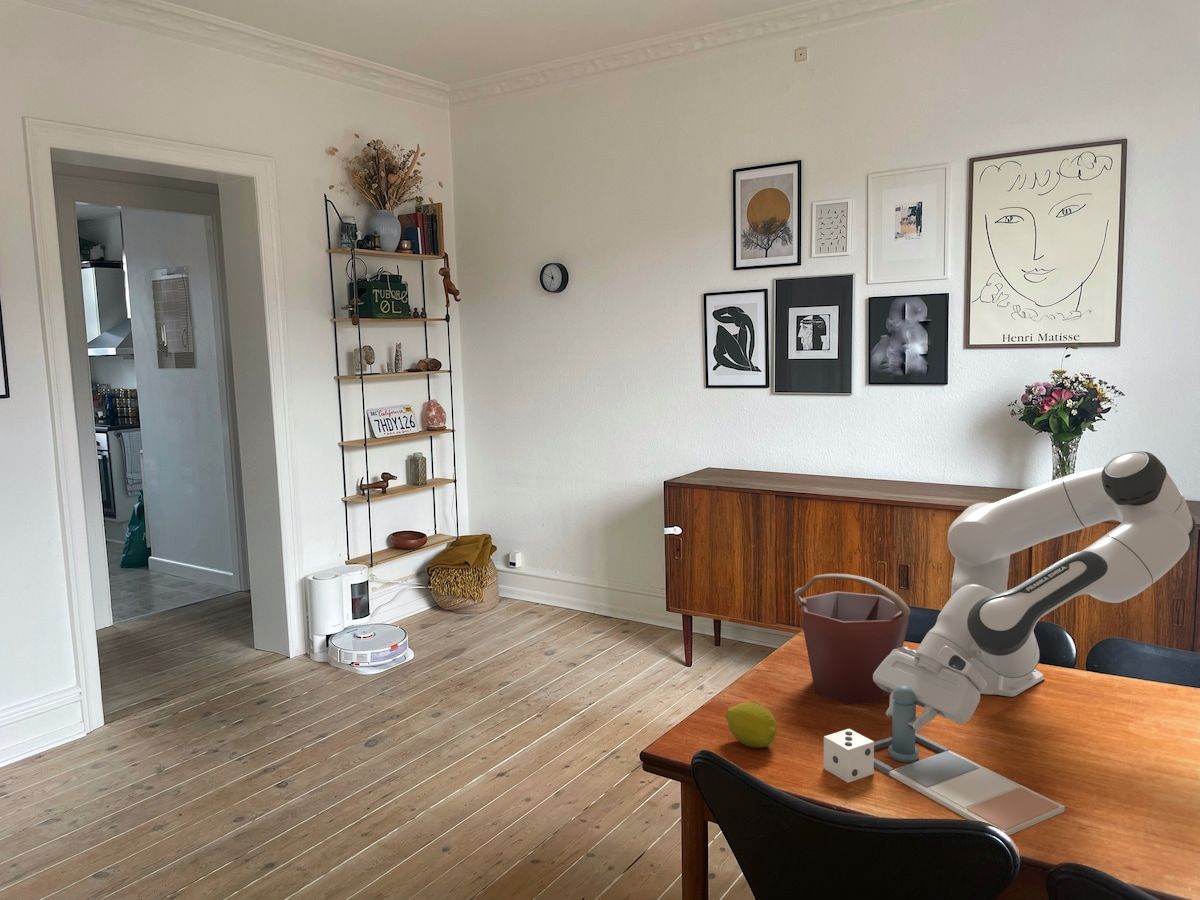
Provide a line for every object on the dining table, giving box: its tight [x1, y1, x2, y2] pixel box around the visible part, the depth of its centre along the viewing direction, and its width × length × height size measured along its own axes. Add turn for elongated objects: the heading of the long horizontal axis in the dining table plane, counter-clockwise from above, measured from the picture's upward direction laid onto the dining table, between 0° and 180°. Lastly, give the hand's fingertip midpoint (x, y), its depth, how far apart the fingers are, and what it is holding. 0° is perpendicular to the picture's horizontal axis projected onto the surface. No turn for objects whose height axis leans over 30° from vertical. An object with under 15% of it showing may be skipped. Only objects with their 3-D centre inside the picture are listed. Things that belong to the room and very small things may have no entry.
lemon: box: [725, 701, 778, 749], centre depth 164 cm, size 11×8×8 cm
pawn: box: [888, 686, 920, 763], centre depth 158 cm, size 5×5×13 cm
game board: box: [874, 732, 1066, 837], centre depth 149 cm, size 15×32×1 cm, turn 28°
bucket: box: [793, 573, 911, 705], centre depth 188 cm, size 24×22×25 cm
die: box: [823, 728, 875, 784], centre depth 153 cm, size 6×6×6 cm
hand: (901, 722), depth 158 cm, fingers closed on pawn, 4 cm apart
